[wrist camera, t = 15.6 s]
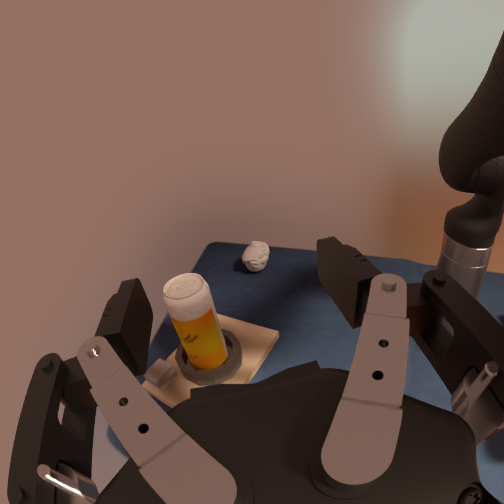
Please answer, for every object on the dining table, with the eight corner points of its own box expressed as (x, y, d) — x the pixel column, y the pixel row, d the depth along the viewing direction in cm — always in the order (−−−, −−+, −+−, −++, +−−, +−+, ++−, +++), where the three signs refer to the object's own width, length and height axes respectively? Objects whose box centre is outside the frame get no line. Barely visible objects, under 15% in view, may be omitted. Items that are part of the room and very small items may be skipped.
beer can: (189, 353, 42) (158, 279, 35) (223, 342, 43) (201, 266, 36) (197, 381, 37) (162, 305, 30) (235, 368, 38) (211, 290, 31)
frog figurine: (277, 266, 65) (274, 240, 62) (256, 280, 61) (252, 253, 58) (258, 259, 69) (255, 234, 66) (238, 272, 65) (233, 246, 62)
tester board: (213, 317, 52) (208, 301, 50) (279, 337, 45) (277, 320, 43) (145, 390, 37) (134, 376, 35) (213, 431, 30) (205, 419, 28)
